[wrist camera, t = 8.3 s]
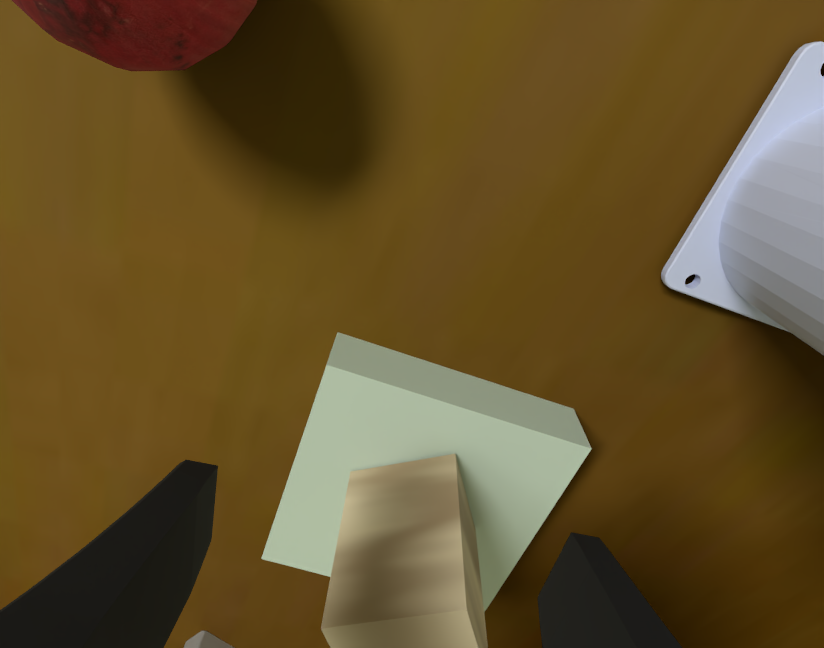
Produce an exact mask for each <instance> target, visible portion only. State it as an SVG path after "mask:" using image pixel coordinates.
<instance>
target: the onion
mask: <svg viewBox="0 0 824 648" xmlns="http://www.w3.org/2000/svg"><path fill="white" fill-rule="evenodd" d="M12 1H13V2H14V3H15V4H16V5H17V6H19V7H20V8H21V9H22V10H23V11H24V12H25V13H26V14H27V15H28V16H29V17H30V18H31V19H32V20H34V21H35V22H36V23H37V24H38V25H39V26H40V27H41V28H42V29H43V30H45V31H46V32H47V33H48V34H50V35H51V36H52V37H54V38H55V39H56V40H57V41H59V42H62V43H64V44H66V45H68V46H70V47H73V48H75V49H77V50H79V51H81V52H84V53H86V54H88V55H90V56H92V57H95V58H97V59H99V60H101V61H103V62H105V63H108V64H110V65H112V66H114V67H117V68H121V69H125V70H129V71H165V70H186V69H187V68H189V67H191V66H192V65H194V64H196V63H197V62H199V61H201V60H202V59H204V58H206V57H207V56H209V55H211V54H213V53H214V52H216V51H218V50H219V49H221V48H223V47H224V46H226V45H227V44H228V43H229V42H230V41H231V40H232V38H233V37H234V35H235V34H236V32H237V31H238V30H239V28H240V27H241V25H242V24H243V23H244V21H245V20H246V18H247V17H248V16H249V14H250V13H251V11H252V10H253V8H254V7H255V6H256V3H257V0H12Z"/></svg>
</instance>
